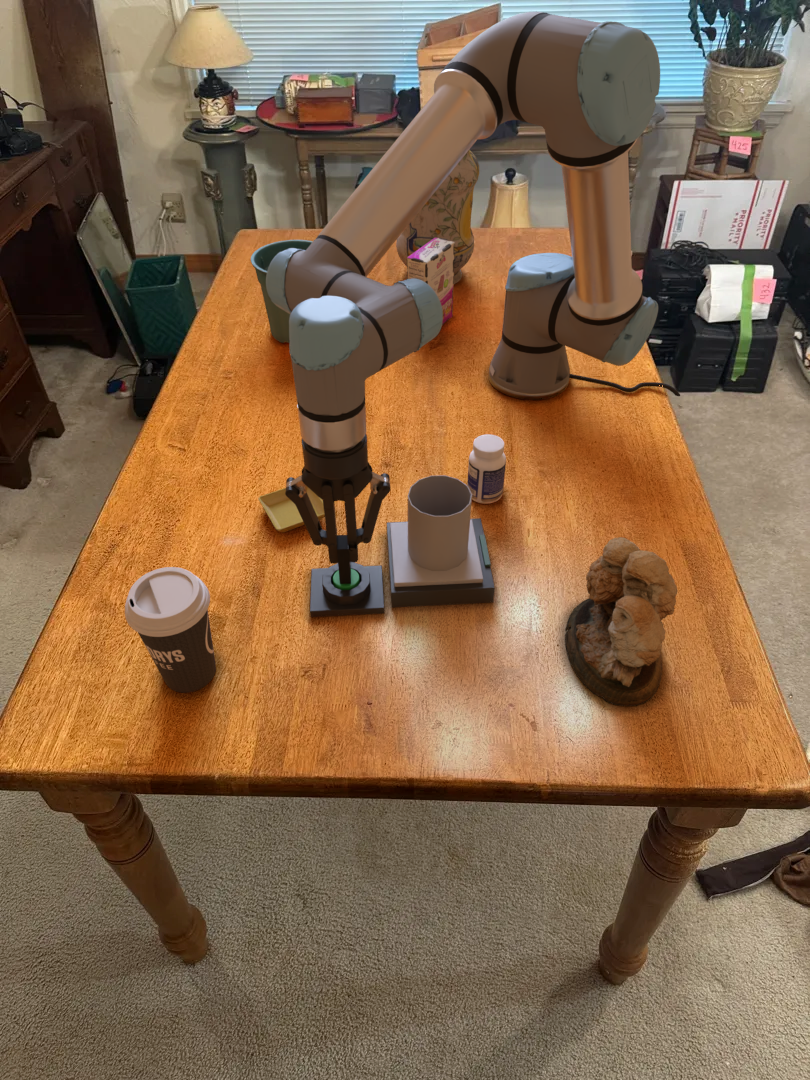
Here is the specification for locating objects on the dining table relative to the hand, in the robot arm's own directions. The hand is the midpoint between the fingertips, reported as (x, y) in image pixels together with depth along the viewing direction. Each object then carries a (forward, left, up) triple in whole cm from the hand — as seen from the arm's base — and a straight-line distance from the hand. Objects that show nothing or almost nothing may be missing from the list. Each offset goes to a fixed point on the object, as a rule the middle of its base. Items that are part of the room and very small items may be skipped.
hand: (345, 576), depth 103 cm
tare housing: (0, 0, -4) cm, 4 cm away
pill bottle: (-22, -20, -4) cm, 30 cm away
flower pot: (+9, -74, -4) cm, 75 cm away
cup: (-13, -4, 0) cm, 14 cm away
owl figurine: (-34, +12, -4) cm, 36 cm away
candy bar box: (-18, -75, -4) cm, 77 cm away
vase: (-21, -98, -4) cm, 100 cm away
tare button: (0, 0, -2) cm, 2 cm away
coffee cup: (+20, +12, -4) cm, 23 cm away
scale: (-13, -4, -4) cm, 14 cm away
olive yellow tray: (+8, -17, -4) cm, 19 cm away
